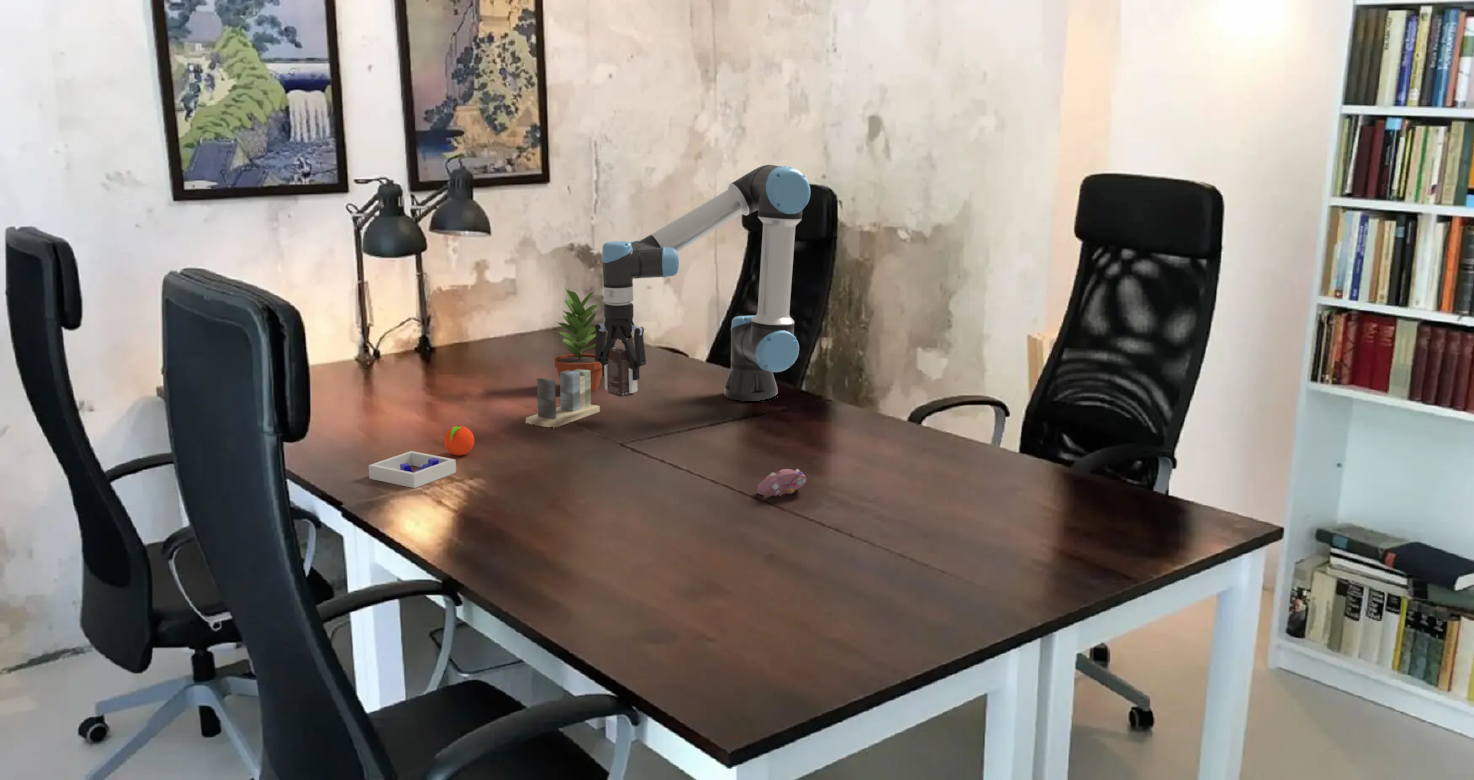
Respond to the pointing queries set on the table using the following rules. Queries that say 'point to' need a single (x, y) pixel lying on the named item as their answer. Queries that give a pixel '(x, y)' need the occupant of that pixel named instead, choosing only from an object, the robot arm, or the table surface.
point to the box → (618, 372)
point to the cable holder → (430, 463)
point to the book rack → (564, 399)
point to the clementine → (459, 440)
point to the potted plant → (579, 339)
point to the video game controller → (782, 482)
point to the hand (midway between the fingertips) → (621, 390)
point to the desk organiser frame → (393, 474)
